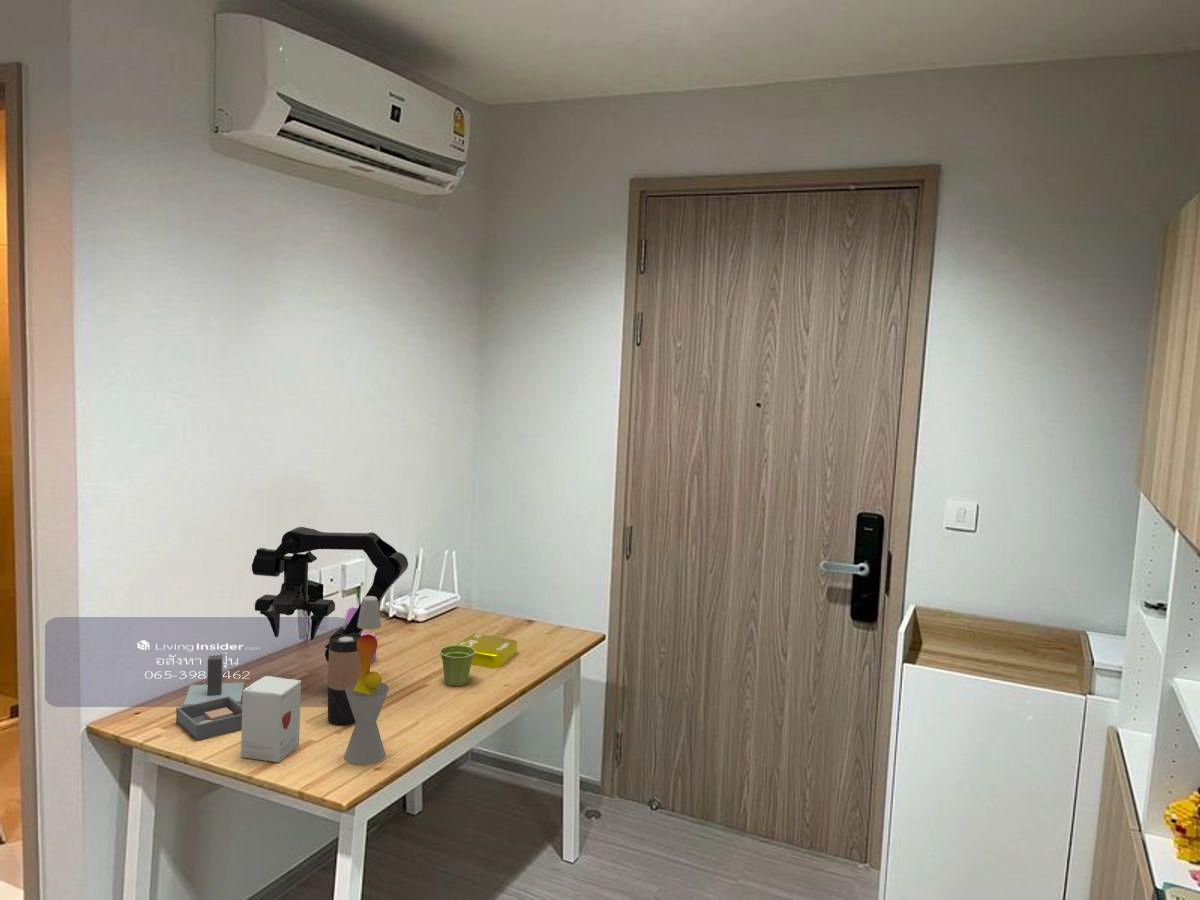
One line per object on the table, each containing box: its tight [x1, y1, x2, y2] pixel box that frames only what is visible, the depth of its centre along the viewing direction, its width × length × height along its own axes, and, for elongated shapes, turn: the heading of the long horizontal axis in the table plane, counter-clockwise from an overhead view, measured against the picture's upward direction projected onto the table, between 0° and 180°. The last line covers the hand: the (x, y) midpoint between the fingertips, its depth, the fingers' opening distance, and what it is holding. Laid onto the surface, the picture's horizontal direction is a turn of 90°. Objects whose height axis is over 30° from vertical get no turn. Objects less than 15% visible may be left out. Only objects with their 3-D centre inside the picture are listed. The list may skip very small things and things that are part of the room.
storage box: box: [175, 696, 242, 742], centre depth 203 cm, size 12×12×4 cm
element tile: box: [455, 633, 518, 669], centre depth 258 cm, size 15×15×5 cm
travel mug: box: [327, 633, 362, 727], centre depth 209 cm, size 8×8×20 cm
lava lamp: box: [343, 595, 390, 766], centre depth 191 cm, size 9×9×35 cm
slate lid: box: [182, 654, 245, 707], centre depth 216 cm, size 12×12×11 cm
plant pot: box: [439, 644, 476, 687], centre depth 237 cm, size 9×9×9 cm
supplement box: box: [240, 675, 302, 764], centre depth 191 cm, size 9×9×15 cm
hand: (294, 638), depth 226 cm, fingers open, 9 cm apart
